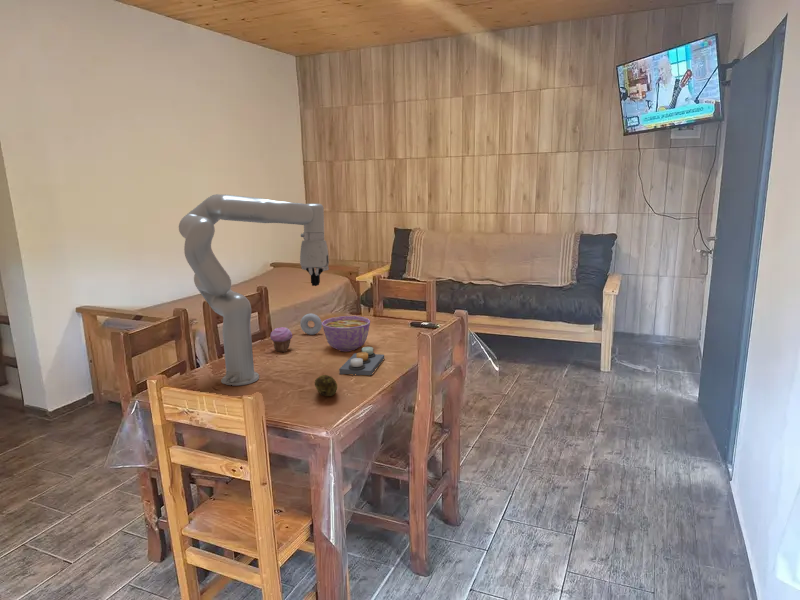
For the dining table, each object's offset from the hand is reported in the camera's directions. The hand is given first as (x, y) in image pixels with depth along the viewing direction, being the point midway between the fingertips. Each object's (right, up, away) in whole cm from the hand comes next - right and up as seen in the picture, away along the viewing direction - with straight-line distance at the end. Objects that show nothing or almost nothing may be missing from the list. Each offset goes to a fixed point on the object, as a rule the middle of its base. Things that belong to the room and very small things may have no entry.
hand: (315, 285), depth 214 cm
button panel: (+18, -31, -2) cm, 36 cm away
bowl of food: (+10, -26, +21) cm, 35 cm away
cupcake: (-17, -27, +20) cm, 37 cm away
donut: (-8, -22, +43) cm, 49 cm away
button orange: (+18, -28, -3) cm, 33 cm away
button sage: (+20, -26, +4) cm, 33 cm away
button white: (+17, -29, -9) cm, 35 cm away
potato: (+8, -37, -30) cm, 48 cm away
